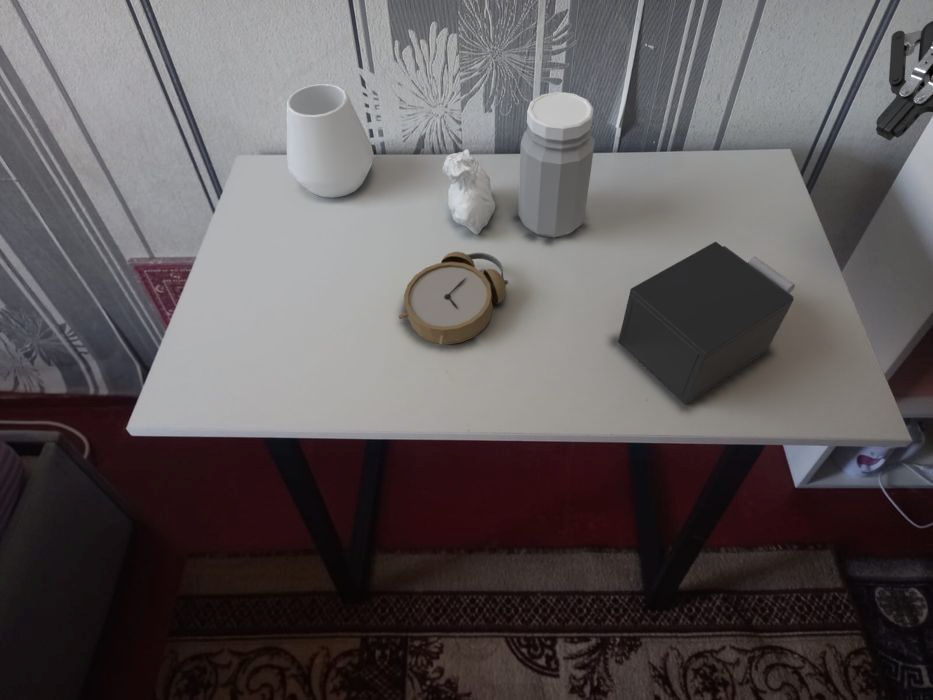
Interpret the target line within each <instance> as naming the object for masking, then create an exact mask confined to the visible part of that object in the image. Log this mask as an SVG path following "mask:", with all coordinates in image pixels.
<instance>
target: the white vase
mask: <svg viewBox="0 0 933 700" xmlns="http://www.w3.org/2000/svg"><path fill="white" fill-rule="evenodd" d="M355 109H356V108H355V107H354V105H353V102H352V101H351V99H350V97H349V95H348V93H347V91H346V90H344V89H343V88H342V87H341V86H338V85H334V84H331V83H317V84H311V85H306V86H304V87H301V88H299V89H297V90H295V91H294V92H293V93H292V94H290V95H289V97H288V98H287V101H286V159H287V160H286V161H287V169H288V172H289V174H290V175H291V176H292V177H293V178H294V179H295V180H296V181H297V182H298V183H299V184H300V185H302V186H303V187H304V188H306V189H307V190H308V191H309V192H310V193H312V194H314V195H316V196H319V197H321V198H330V199H334V198H335V199H336V198H340V197H346V196H348V195H350V194H353V193H354V192H356V191H357V190H359V188H360V187H361V186H362V185H363V183H364V182H365V179H366V178H367V175H368V174H369V171H370V169H371V167H372V165H373V162H374V158H375V154H374V150H373V146H372V144H371V141H370V138H369V136H368V134H367V132H366V130H365V128H364V126H363V124H362V122H361V120H360V117H359V115H358V114H357V112H356V110H355Z"/></svg>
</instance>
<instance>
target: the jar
mask: <svg viewBox="0 0 933 700" xmlns="http://www.w3.org/2000/svg"><path fill="white" fill-rule="evenodd" d="M594 110H595V108H594V107H593V105H592V104H591V102H590V101H589V99H587V98H584V97H582V96H580V95H578V94H576V93H574V92H563V91H554V92H549V93H543V94H540V95H538V96H537V97H536V98H533V100H531V101H530V103H529V105H528V108H527V111H526V124H527V127H526V129H525V131H524V133H523V135H522V138H521V141H520V151H519V152H520V154H519V158H520V159H519V183H518V184H519V185H518V212H517V213H518V216H519V218H520V221H521V222H522V223H521V224H522V225H523V226H524V227H525V228H527V229H528V230H529V231H531V232H533V233H535V235H537V236H539V237H547V238H553V239H554V238H558V237H564V236H568V235H569V234H571V233H572V232H573V231H575V230H576V229H578V228H579V227H581V225H583V224H584V219H585V215H586V209H587V202H588V195H589V187H590V181H591V173H592V165H593V157H594V151H595V143H596V140H595V139H594V137H593V136H592V133H591V132H592V123H593V117H594Z"/></svg>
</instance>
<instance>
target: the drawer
mask: <svg viewBox="0 0 933 700" xmlns="http://www.w3.org/2000/svg"><path fill="white" fill-rule="evenodd" d="M722 247H724V248H725V249H727V250H728V251H729V252H731V253H732V254H733V255H735V256H736V257H737V258H739V259H740V260H741V261H743V262H744V263H746V264H747V265H748V266H750V267H751V268H752V269H754V270H755V271H756V272H758V273H759V274H760V275H762V276H763V277H765V278H766V279H767V280H769V281H770V282H771V283H773V284H774V285H775V286H777V287H778V288H779V289H781V290H782V291H784V292H785V293H786V294H788V295H789V296H790V297H792V298H793V299H794V296H793V295H792V294H791V293H792V292H793V291H794V290H795V287H796V284H795V283H793V282H792V281H790V280H789V279H788V278H786V276H783V275H782V274H781V273H779V272H778V271H777V270H775V269H774V268H772V267H771V266H770V265H768V264H767V263H765V262H764V261H762V260H761V259H760V258H758V257H757V256H753V257H752V258H750V259H749V260H748V262H747V261H746V260H745V259H743V258H742V257H740V256H739V255H737V253H735V252H734V251H732V250H731V249H730V248H728V247H727V246H725V245H722Z"/></svg>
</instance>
